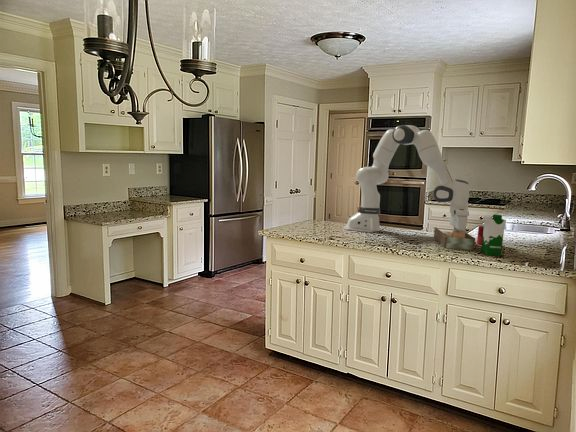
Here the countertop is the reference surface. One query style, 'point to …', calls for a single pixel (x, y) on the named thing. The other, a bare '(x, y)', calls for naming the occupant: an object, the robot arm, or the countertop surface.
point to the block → (458, 234)
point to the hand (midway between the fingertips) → (456, 235)
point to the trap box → (454, 240)
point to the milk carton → (493, 235)
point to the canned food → (480, 234)
